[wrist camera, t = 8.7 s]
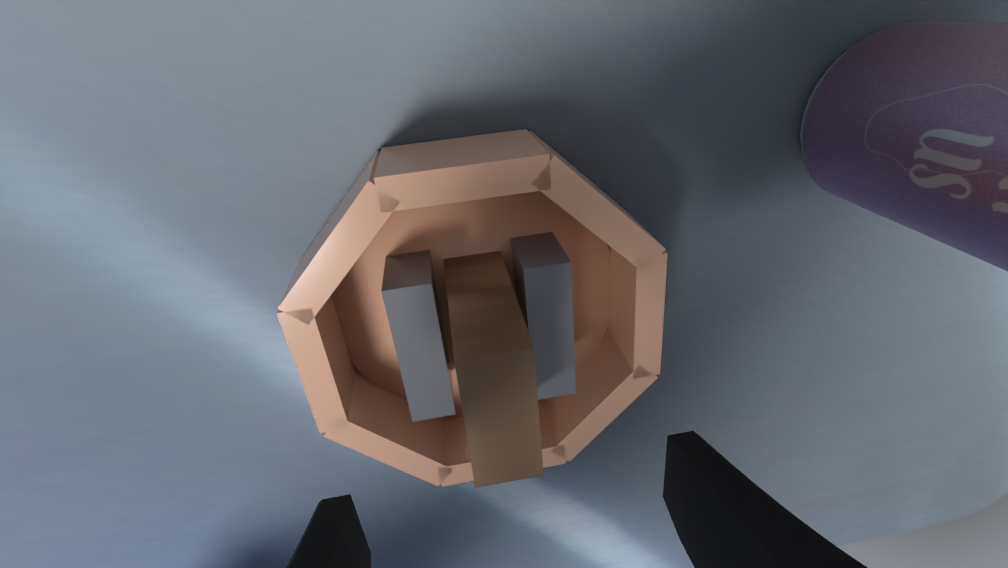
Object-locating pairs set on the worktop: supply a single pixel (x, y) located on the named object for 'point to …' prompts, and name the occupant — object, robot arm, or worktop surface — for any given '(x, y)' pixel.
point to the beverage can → (919, 131)
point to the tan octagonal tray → (424, 304)
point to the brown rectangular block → (493, 370)
